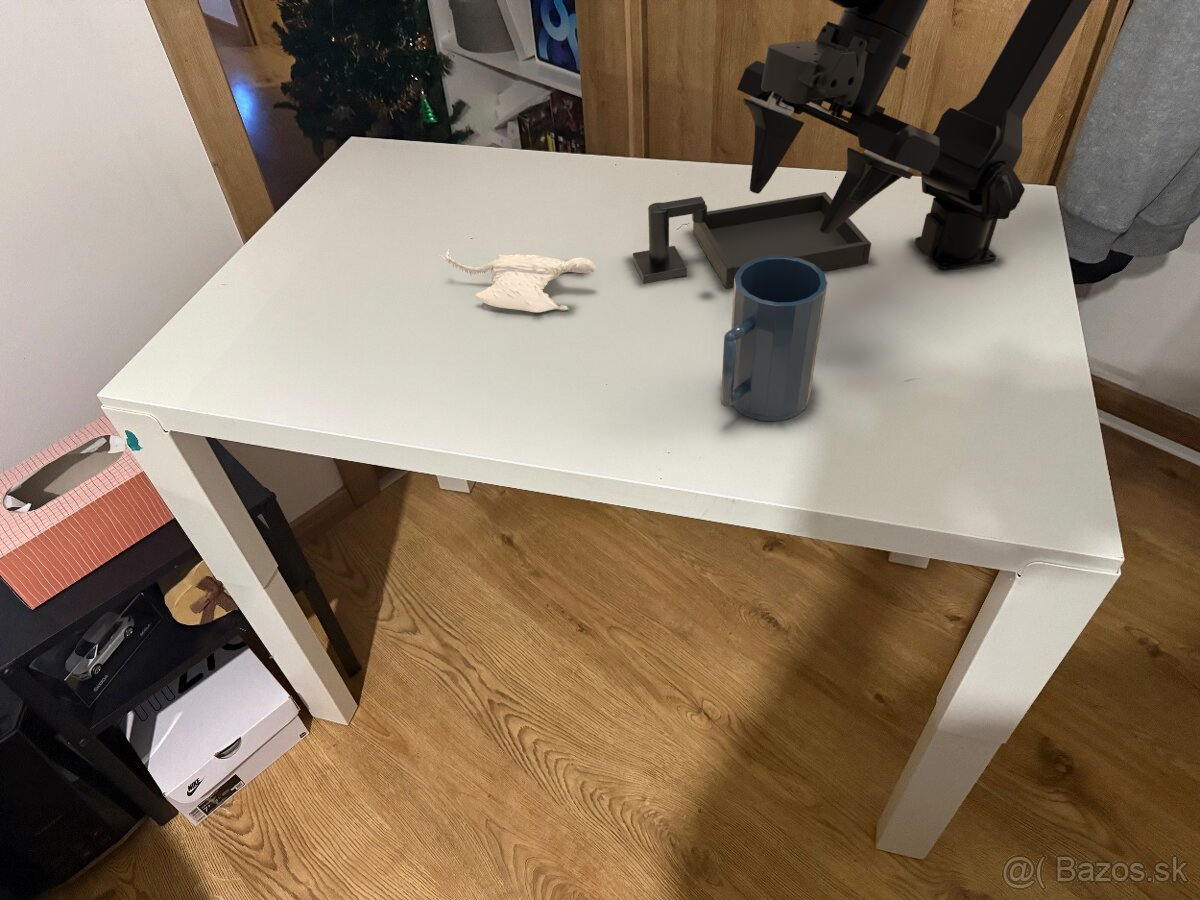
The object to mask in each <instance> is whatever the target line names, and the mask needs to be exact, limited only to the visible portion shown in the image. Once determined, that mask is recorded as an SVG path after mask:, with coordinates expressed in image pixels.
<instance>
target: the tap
mask: <svg viewBox="0 0 1200 900" xmlns="http://www.w3.org/2000/svg"><path fill="white" fill-rule="evenodd" d="M647 211H648V213H647V214H648V217H647V218H648V245H649V246H648V250H642V251H635V252H633V253H632V261H633V264H634V266H635V268H636V270H637V272H638V275H639V276H640V278H641V281H642V283H643V284H646V283H653V282H659V281H663V280H664V281H665V280H669V279H670V280H671V279H676V278H681V277H687V275H688V267H687V266H686V264H685V262H684V260H683V258H682V256H681V255H680V253H679V251H678V250H677V247H676V246H675V245H671V246H670V218H671V219H672V218H677V217H682V216H688V215H691V220H692V222H695V223H703V222H705V221H706V220H707V212H708V205H707V204H706V201H705V199H704V198H703V196H695V197H694V196H693V197H688V198H683V199H677V200H676V199H675V200H670V201H664V202H653V203H651V204H650V205H649V206H648V208H647Z"/></svg>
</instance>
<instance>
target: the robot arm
mask: <svg viewBox="0 0 1200 900" xmlns="http://www.w3.org/2000/svg"><path fill="white" fill-rule="evenodd" d="M828 1H829V2H831V3H833V4H835V5H836V6H838V7H840V8H843V12H842V14H841V16H840V18H839V20H838V22H837V24H836V23H834V22H832V21H831V22H830V21H826V24H825V25H823V26H822V28H821V29H820V31H819V33H818V35H817V38H816V39H815V40H814V41H812V40H811V41H806V40H805V41H804V40H801V41H789V42H782V43H774V44H769V45H768V46H767V51H766V57H765V62H762V61H759V60H755V61H754V62H752V63H751V64H749V65H748V66H746V67H745V69H744V71H743V73H742V75H741V78H740V79H739V80H740V81H739V82H738V86H737V88H736V90H737V91H740V92H742V93H744V94H746V95H748V96H750V97H749V99H748V98H746V97H743V100H742V101H743V105H744V106H746V107H747V108H748V110H749V112H750V115H751V118H752V120H753V121H752V122H753V123H754V144H753V151H752V153H753V154H752V163H751V170H750V171H751V173H750V180H749V181H750V182H749V191H750V192H751V193H754V194H757V195H758V194H760V193H761V192H762V191H763V189H764V188H765V187H766V185H767V184H768V183H769V181H770V180H771V179H772V177H773V175H774V174H775V172H776V170H777V169H778V167H779V165H780V164H781V162H782V160H783V159H784V157H785V155H786V154H787V152H788V151H789V150H790V147H791V145H793V143H794V142H795V140H796V138H797V136H798V135H799V133H800V131H801V130H802V128H803V127H804V125H805V121H803V120H801V119H799V118H796V117H794V116H793V114H797V115H801V114H806V115H809V116H811V117H812V118H815V119H817V120H819V121H822V122H824V123H826V124H829V126H833V127H835V128H837V129H839V130H841V131H843V132H845V133H848V134H850V135H852V136H854V137H856V138H857V139H858V144H859V148H861V149H864V150H863V151H860V150H857V149H854V148H851V147H848V146H847V148H846V149H847V150H846V171H845V174H844V175H843V177H842V180H841V182H840V184H839V185H838V188H837V190H836V191H835V194H834V195H833V198H832V202H831V204H830V206H829V208H828V210H827V212H826V214H825V217H824V219H823V222H822V225H821V227H820V232H822V233H825V234H830V233H831V232H833V231H834V230H835V229H836V228H837V227H838V226H840V225H841V224H842V223H843V222H844V221H845V220H847V219H848V218H849V219H850V217H852V215H854V214H855V213H856V212H857V211H858V210H860V209H861V208H862V207H863V206H864V205H866V204H867V203H868V202H869V201H871V200H872V199H873V198H874V197H876V196H878V194H880V193H881V192H883V191H884V190H886V189H887V188H888V187H890V186H891V185H893V184H894V183H896V182H897V181H898V180H900V179H901V178H904V179H908V180H911V179H912V177H913V175H914V173H913V172H912V171H910V170H911V169H912V170H913V171H917V172H920V179H921V192H922V193H923V194H926V195H929V196H932V197H933V199H932V203H931V207H930V211H929V212H927V213H926V215H925V219H924V223H923V227H922V232H921V235H920V236H917V237H915V238H914V244H915V245H916V246H917V247H918V248H919V249H920V250H921V252H923V253H924V254H925V256H927V258H929V260H930V261H931V262H932V263H933V264H934V265H935V266H936V267H937V268H938V269H940V270H941V271H949V270H954V269H961V268H965V267H971V266H977V265H982V264H987V263H993V262H996V260H997V255H996V254H995V253H994V251H992V250H991V249H990V246H991V243H992V240H993V236H994V233H995V229H996V226H997V224H998V220H1006V219H1008V218H1009V217H1010V215H1011V212H1012V211H1014V210H1015V209H1016V208H1017V207H1018V205H1019V204H1020V201H1021V200H1022V196H1023V195H1024V193H1025V191H1026V189H1025V186H1024V185H1023V184H1022V182H1021V180H1020V179H1019V177H1018V175H1017V173H1016V172H1015V170H1014V169H1015V167H1016V165H1017V163H1018V161H1019V158H1020V157H1021V155H1022V152H1023V126H1024V125H1023V123H1024V122H1023V120H1024V118H1025V116H1026V114H1027V112H1028V110H1029V109H1030V107H1031V106H1032V103H1033V102H1034V100H1035V98H1036V96H1037V95H1038V93H1039V91H1040V90H1041V88H1042V86H1043V85H1044V83H1045V81H1046V80H1047V78H1048V76H1049V75H1050V73H1051V71H1052V69H1053V68H1054V66H1055V65H1056V62H1057V61H1058V59H1059V57H1060V55H1061V54H1062V52H1063V50H1064V49H1065V47H1066V46H1067V44H1068V42H1069V41H1070V39H1071V37H1072V35H1073V34H1074V32H1075V31H1076V29H1077V27H1078V26H1079V23H1080V22H1081V21H1082V18H1083V17H1084V15H1085V13H1086V12H1087V10H1088V8H1089V7H1090V6H1091V3H1092V1H1093V0H1029V1H1028V3H1027V5H1026V7H1025V9H1024V10H1023V12H1022V14H1021V16H1020V17H1019V18H1018V21H1017V23H1016V25H1015V26H1014V29H1012V32H1011V34H1010V36H1009V37H1008V39H1007V41H1006V43H1005V44H1004V46H1003V48H1002V50H1001V52H1000V54H998V57H997V59H996V60H995V62H994V64H993V66H992V68H991V69H990V71H989V73H988V75H987V76H986V78H985V80H984V82H983V83H982V85H981V87H980V89H979V91H978V93H977V94H976V96H975V98H973V99H972V100H970V101H969V102H968V103H965V104H964V105H963V106H962V107H961V108H958V109H956V108H953V107H949V108H947V110H945V111H944V113H942V115H941V117H940V119H939V121H938V123H937V126H936V127H935V130H934V131H933V133H930V132H928V131H926V130H924V129H922V128H919V127H917V126H914V125H911V124H909V123H908V122H905V121H903V120H900V119H898V118H896V117H893V116H890V115H888V114H886V113H884V112H885V111H886V107H883V106H881V105H879V104H878V103H879V101H880V99H881V97H882V96H883V93H884V92H885V90H886V88H887V85H888V83H889V81H890V80H891V77H892V76H893V73H894V71H895V70H896V68H898V69H900V70H904V71H906V69H907V67H908V65H909V63H910V61H911V59H912V56H909V55H908V54H906V53H904V52H905V49H906V47H907V45H908V43H909V41H910V39H911V37H912V35H913V32H914V31H915V28H917V27H916V26H917V24H918V23H919V21H920V19H921V17H922V14H923V12H924V10H925V8H926V7H927V4H928V3H929V0H828ZM824 102H825V103H827V104H830V105H829V107H828V108H827V107H825V106H822V105H823V103H824ZM844 112H847V113H849V114H851V115H850V117H849V116H847V115H844V114H843V113H844Z"/></svg>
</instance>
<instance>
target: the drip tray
mask: <svg viewBox="0 0 1200 900" xmlns="http://www.w3.org/2000/svg"><path fill="white" fill-rule="evenodd" d="M832 200H833V198H832V197H831V196H830V195H829V194H828V193H827V192H826V191H823V192H817V193H809V194H805V195H799V196H793V197H787V198H786V197H785V198H781V199H775V200H774V199H773V200H769V201H768V200H767V201H762V202H757V203H752V204H745V205H740V206H732V207H726V208H721V209H715V210H707V220H706V221H705V222H703V223H695V222H693V221H692V222H693V223H692V225H693V226H692V233H693V236H694V237H695V238H696V240H697V243H698V244H699V246H700V247H701V249H702V250H703V253H704V255H706V257H707V259H708V261H709V263H710V264H711V265H712V268H713V269H714V270H715V272H716V274H717V276H718V278H719V279H720V281H721V282H722V284H723V286H724V287H725V289H730V288H734V277H735V275H736V273H737V272H738V270H739V268H740V267H742V266H743V265H745V264H746V263H748V262H749V261H751V260H755V259H758V258H762V257H767V256H789V257H795V258H800V259H803V260H805V261H808V262H810V263H812V264H814V265H816V266H817V267H818V268H819V269H820V270H821V271H822V272H827V271H831V270H837V269H843V268H849V267H853V266H855V267H856V266H859V265H866V264H869V258H870V253H871V247H872V242H871V241H870V240H869V238H868V237H866V235H864V234H863V232H862V231H861V230H860V229H859V228H858V226H857V225H856V224H855V223H854V222H853V221H852V220H851V219H850V217H849V218H848V219H847V220H845V221H844V222H843V223H842V224H841V225H840V226H838V227H837V228H836V229H835V230H834V231H833V232H831V233H830V234H825V233H822V232H820V227H821V225H822V222H823V219H824V217H825V214H826V212H827V210H828V208H829V206H830V204H831V202H832Z"/></svg>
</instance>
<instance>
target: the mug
mask: <svg viewBox="0 0 1200 900" xmlns="http://www.w3.org/2000/svg"><path fill="white" fill-rule="evenodd" d="M827 288H828V281H827V278H826V274H825V272H824V271H821V270H820V269H819V268H818V267H817V266H816V265H814V264H812V263H810V262H808V261H805V260H803V259H800V258H795V257H789V256H767V257H762V258H758V259H755V260H751V261H749V262H748V263H746V264H745V265H743V266H742V267H740V268H739V270H738V272H737V273H736V275H735V277H734V287H733V295H732V312H731V328H730V329H729V330H728V331H727V332H725V334H724V336H723V354H722V371H721V391H720V404H721V405H722V406H723V407H725V408H728V407H731V406H732V407H733V408H734V409H735V410H736V411H737V412H739V413H740V414H742V415H744V416H745V417H747V418H750V419H753V420H756V421H762V422H780V421H786V420H789V419H791V418H794V417H796V416H798V415H799V414H801V413H802V412H803V411H804V410H805V409H806V408H807V406H808V404H809V400H810V396H811V393H812V386H813V381H814V380H813V379H814V373H815V366H816V360H817V353H818V347H819V340H820V334H821V327H822V321H823V314H824V307H825V301H826V294H827Z"/></svg>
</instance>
